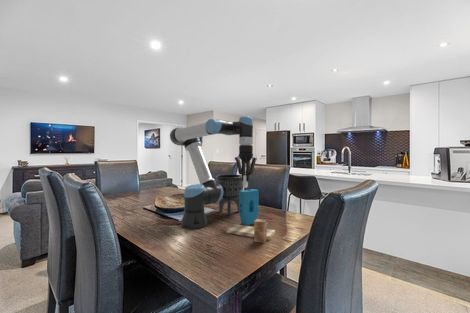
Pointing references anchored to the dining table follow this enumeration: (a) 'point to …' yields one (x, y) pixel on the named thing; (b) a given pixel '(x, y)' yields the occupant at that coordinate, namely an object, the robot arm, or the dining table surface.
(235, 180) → the planter
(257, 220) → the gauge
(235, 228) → the board
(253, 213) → the block
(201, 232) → the dining table surface
